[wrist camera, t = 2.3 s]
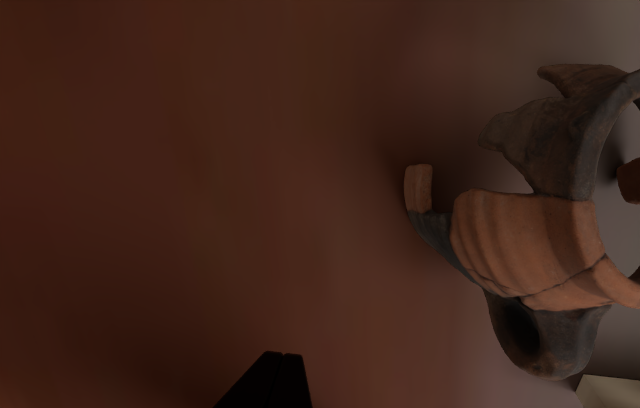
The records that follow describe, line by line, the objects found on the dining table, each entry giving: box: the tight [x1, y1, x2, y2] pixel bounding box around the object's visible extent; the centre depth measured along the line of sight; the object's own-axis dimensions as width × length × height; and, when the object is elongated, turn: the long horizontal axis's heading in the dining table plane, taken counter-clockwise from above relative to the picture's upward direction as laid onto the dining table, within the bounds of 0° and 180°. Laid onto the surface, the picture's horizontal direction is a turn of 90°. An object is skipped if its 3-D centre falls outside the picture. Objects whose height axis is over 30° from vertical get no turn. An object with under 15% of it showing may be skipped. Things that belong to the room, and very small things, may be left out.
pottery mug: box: [404, 64, 640, 381], centre depth 15 cm, size 12×9×8 cm
